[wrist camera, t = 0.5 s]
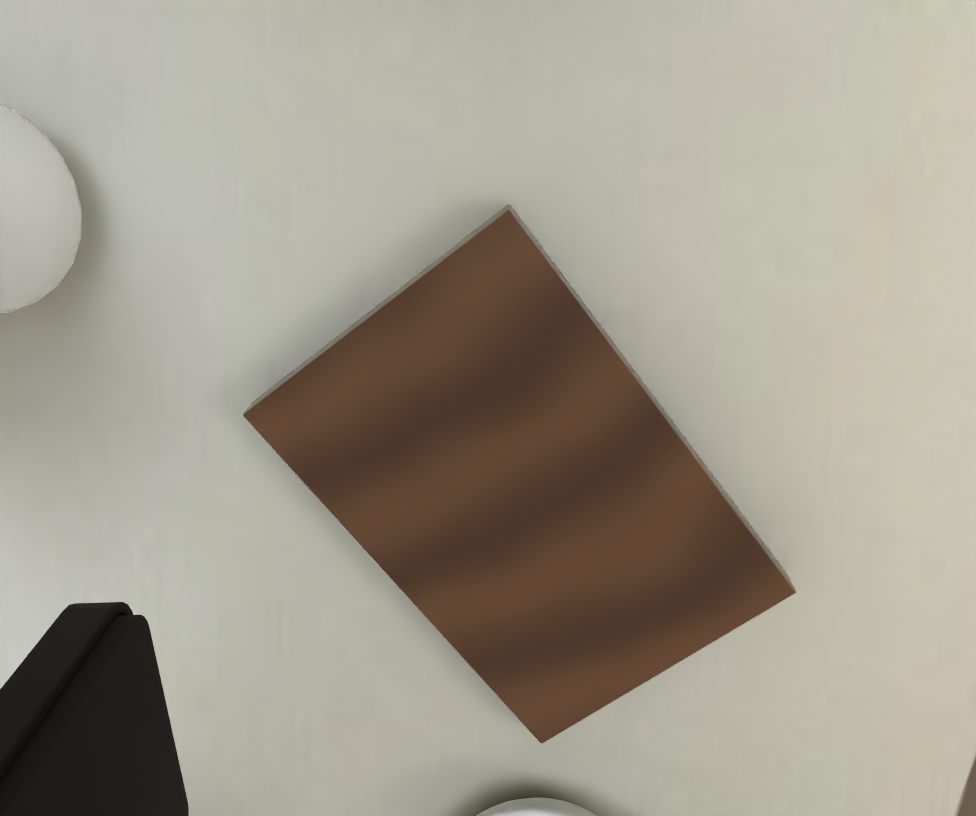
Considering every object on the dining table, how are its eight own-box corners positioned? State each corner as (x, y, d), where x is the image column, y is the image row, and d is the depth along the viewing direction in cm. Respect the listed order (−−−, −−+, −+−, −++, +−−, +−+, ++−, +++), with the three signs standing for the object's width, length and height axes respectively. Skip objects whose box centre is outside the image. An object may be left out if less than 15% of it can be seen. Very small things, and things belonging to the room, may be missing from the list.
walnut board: (252, 402, 46) (241, 415, 45) (509, 203, 42) (509, 209, 41) (540, 722, 52) (541, 744, 51) (787, 574, 49) (797, 592, 47)
